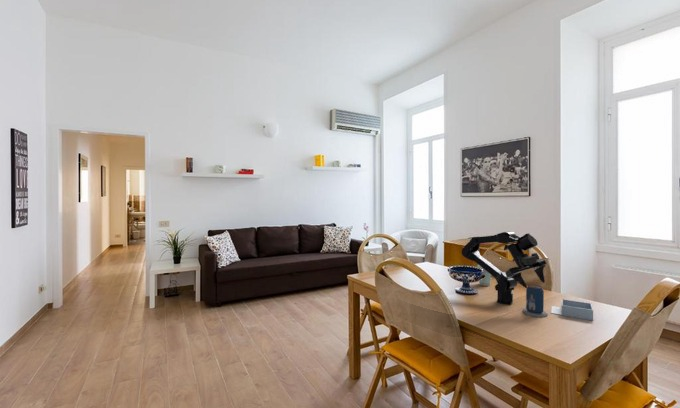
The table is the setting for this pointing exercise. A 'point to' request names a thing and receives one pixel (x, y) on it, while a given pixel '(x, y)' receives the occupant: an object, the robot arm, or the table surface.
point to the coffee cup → (485, 278)
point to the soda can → (534, 299)
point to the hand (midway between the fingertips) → (535, 285)
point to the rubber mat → (535, 314)
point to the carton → (574, 309)
